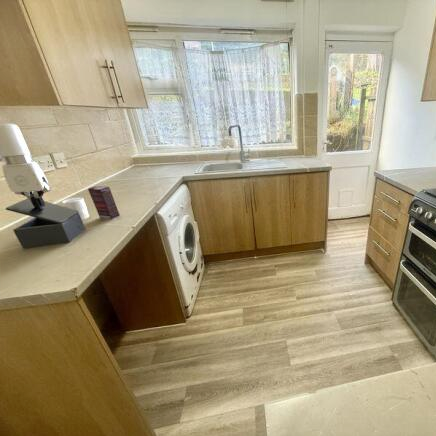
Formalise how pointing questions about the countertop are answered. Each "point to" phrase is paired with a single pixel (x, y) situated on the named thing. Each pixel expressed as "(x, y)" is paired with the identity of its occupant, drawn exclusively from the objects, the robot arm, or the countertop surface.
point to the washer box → (48, 232)
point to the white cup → (77, 206)
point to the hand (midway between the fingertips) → (40, 207)
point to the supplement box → (104, 202)
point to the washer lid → (43, 211)
